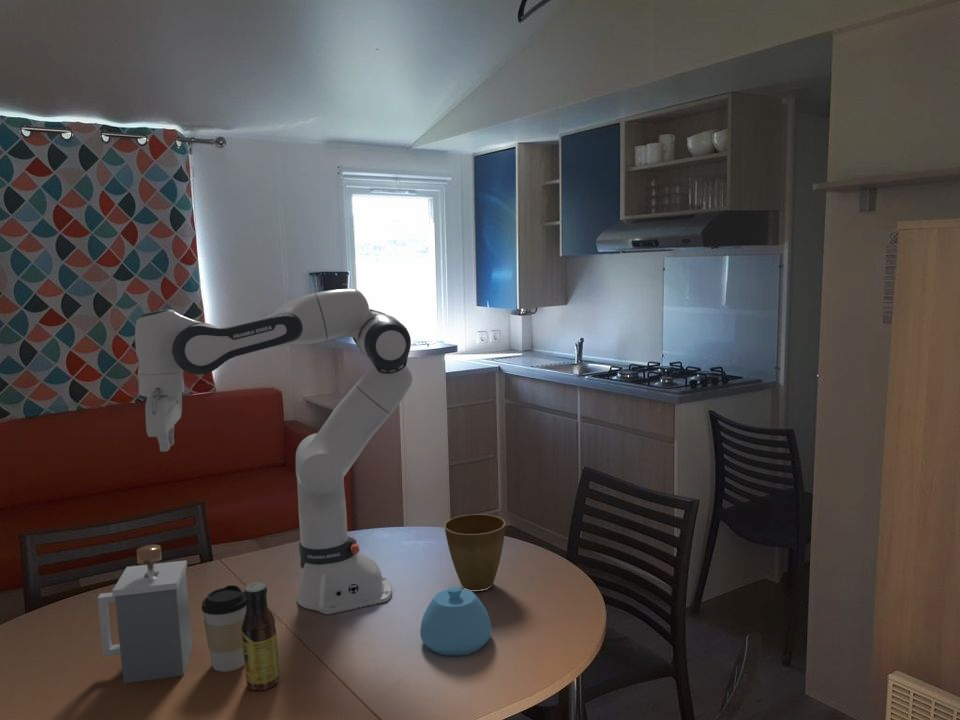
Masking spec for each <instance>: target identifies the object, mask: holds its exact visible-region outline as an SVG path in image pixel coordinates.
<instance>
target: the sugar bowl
mask: <svg viewBox="0 0 960 720" xmlns="http://www.w3.org/2000/svg"><path fill="white" fill-rule="evenodd" d="M492 633H493V632H492V622H491V619H490V616H489V613H488V611H487V609H486V607H485V606H484V604H483V603H482V601H481V600H480V598H479V597H478V596H477V595H476V594H475V592H471V591H469V590H465V589H464V588H462V587H460V586H450V587H448V588H447V589H444V590H441V591H439V592H438V593H436V594H435V595H434V596H433V598H431V600H430V602H429V604H428V606H427V607H426V609H425V611H424V612H423V616H422V618H421V623H420V630H419V634H420V639H421V640H422V642H423V643H424V645H425V646H426V647H427V648H428V649H430V651H432V652H434V653H436V652H437V653H436V654H438V653H440V654H439V655H442V654H444V655H443V656H447V655H461V656H464V655H463V654H466V655H469V654H468V653H470V654H472V653H471V652H473V653H475V652H477V651H479V650H480V649H482V648H483V647H484V646H485V644H487V642H488V641H489V640H490V638H491V636H492ZM478 649H479V650H478ZM476 650H477V651H476ZM474 651H475V652H474Z"/></svg>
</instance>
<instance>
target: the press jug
mask: <svg viewBox="0 0 960 720" xmlns="http://www.w3.org/2000/svg"><path fill="white" fill-rule="evenodd" d="M153 564H154V575H155V577H149V578H148V571H147V565H141V564H139V565H132V566H126V568H125V569H124V571H123V573H122V574H121V576H120V577H119V579H118V580H117V582H116V584H115V586H114V587H113V588H112V591H111V592H103V593H102V592H101V593H99V595H98V597H97V607H98V616H99V617H98V618H99V626H100V636H101V637H100V638H101V643H102V644H101V645H102V656H103V657H109V656H117V655H118V656H119V655H120V659H121V661H120V663H121V671H122V680H123V681H122V682H123V684H124V685H125V684H132V683H138V682H146V681H152V680H153V681H154V680H161V679H165V678H175V677H181V676H184V675H185V673H186V669H187V667H188V662H189V660H190V657H191V654H192V651H193V641H192V626H191V617H190V608H189V607H190V605H189V593H188V584H187V583H188V581H187V571H186V570H187V567H188V560H177V561H170V562H169V561H168V562H159V563H158V562H157V563H153ZM109 603H115V607H116V608H115V610H116V622H117V629H118V630H117V631H118V641H119V643H118V644H117V643H116V644H113V641H112V632H111V631H112V630H111V621H110V620H111V619H110V612H109Z"/></svg>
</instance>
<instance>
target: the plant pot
mask: <svg viewBox="0 0 960 720" xmlns="http://www.w3.org/2000/svg"><path fill="white" fill-rule="evenodd" d="M443 527H444V533H445V537H446V542H447V546H448V550H449V555H450V557H451V561H452V564H453V567H454V569H455V572H456V575H457V577H458V580H459V582H460V584H461V587H462V586H463V587H464V588H466V589H469V590H481V589H486V588H488V587H490V586H491V585H492V586H493V585H494V583H495V580H496V576H497V574H498V573H497V572H498V568H499V565H500V562H501V557H502V552H503V546H504V542H505V541H504V539H505V532H506V521H505V519H503V518H502V517H499V516H497V515H492V514H484V513H474V514H464V515H459V516H456V517H453V518H450V519H449V520H447V521H446V522H445V523H444V526H443ZM463 587H462V588H463ZM464 588H463V589H464Z"/></svg>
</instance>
